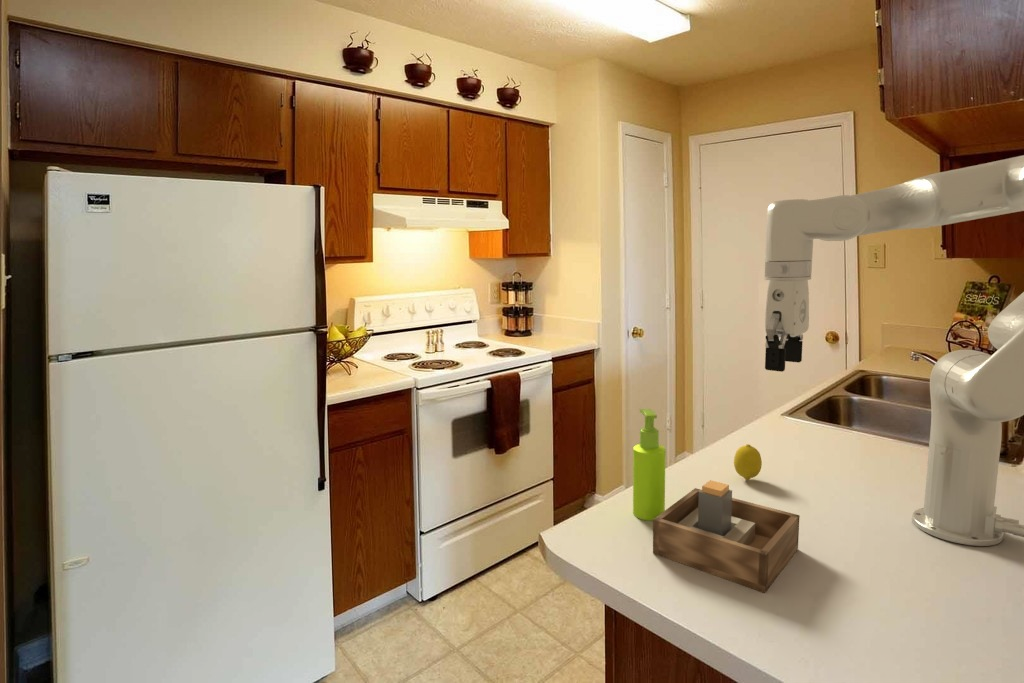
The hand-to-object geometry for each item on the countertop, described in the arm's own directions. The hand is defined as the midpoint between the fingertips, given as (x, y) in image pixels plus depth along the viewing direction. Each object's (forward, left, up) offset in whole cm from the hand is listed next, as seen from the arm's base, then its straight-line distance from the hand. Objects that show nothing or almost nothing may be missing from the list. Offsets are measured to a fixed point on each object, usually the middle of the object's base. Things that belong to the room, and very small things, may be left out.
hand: (783, 365), depth 105 cm
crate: (+2, +20, -28) cm, 35 cm away
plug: (+4, +20, -27) cm, 34 cm away
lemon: (+10, -12, -28) cm, 32 cm away
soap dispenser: (+19, +15, -28) cm, 37 cm away
